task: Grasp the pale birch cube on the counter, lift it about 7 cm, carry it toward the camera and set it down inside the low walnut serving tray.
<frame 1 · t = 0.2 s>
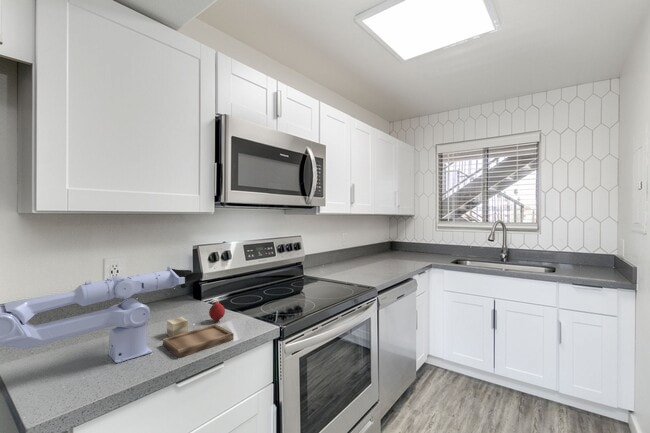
hand: (196, 274, 107), 21 cm above the countertop, tool horizontal, fingers open, 7 cm apart
cube: (177, 334, 108), on the countertop
onion: (216, 321, 121), on the countertop
tray: (199, 342, 101), on the countertop
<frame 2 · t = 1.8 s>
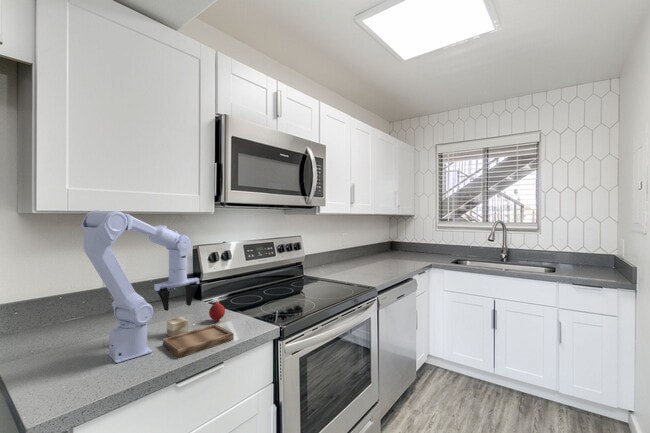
hand: (177, 307, 108), 9 cm above the countertop, tool pointing down, fingers open, 7 cm apart
nothing on the countertop moved.
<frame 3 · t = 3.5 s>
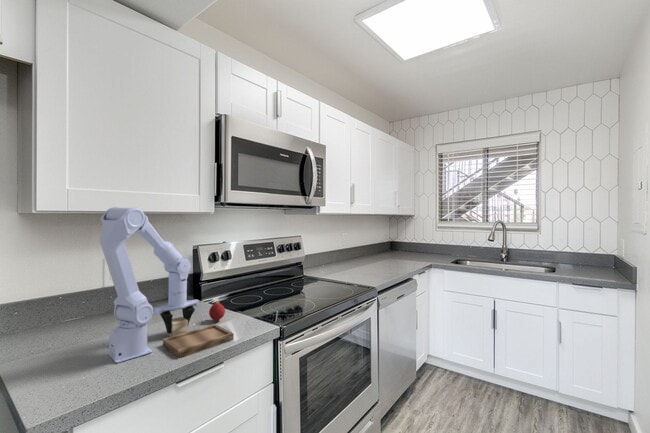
hand: (177, 330, 108), 1 cm above the countertop, tool pointing down, fingers closed on cube, 5 cm apart
cube: (177, 334, 108), on the countertop, touching gripper
everything else where it was.
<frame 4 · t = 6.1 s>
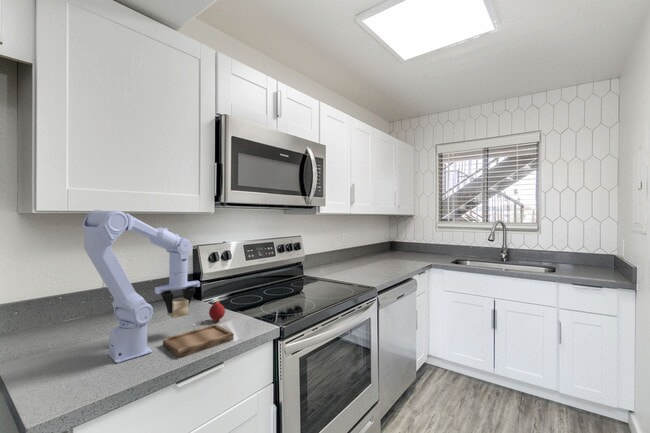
hand: (178, 310, 107), 8 cm above the countertop, tool pointing down, fingers closed on cube, 5 cm apart
cube: (178, 314, 107), point 7 cm above the countertop, touching gripper
everything else where it was.
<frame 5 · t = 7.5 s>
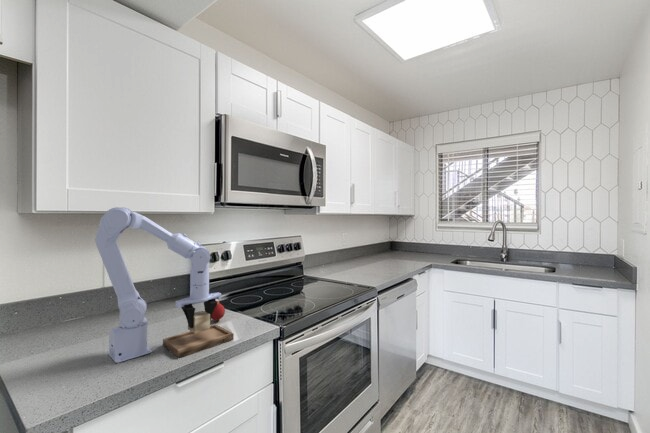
hand: (199, 324, 101), 6 cm above the countertop, tool pointing down, fingers closed on cube, 5 cm apart
cube: (198, 329, 101), point 4 cm above the countertop, touching gripper
everything else where it was.
when the fingers open (4 cm above the countertop, at t = 8.7 s): cube stays where it is, resting on tray.
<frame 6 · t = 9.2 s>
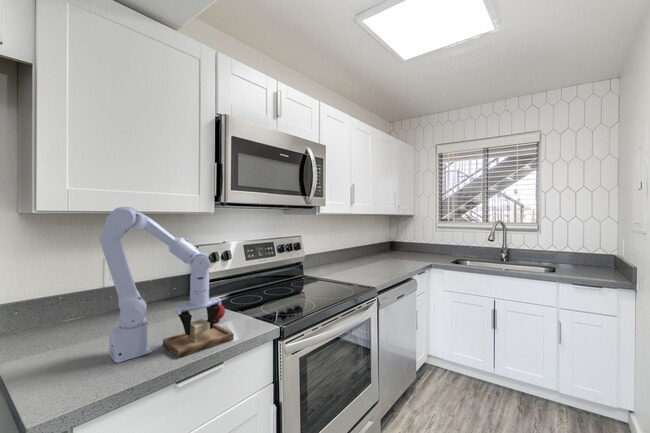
hand: (199, 330, 101), 4 cm above the countertop, tool pointing down, fingers open, 7 cm apart
cube: (198, 337, 101), point 1 cm above the countertop, touching tray
everything else where it was.
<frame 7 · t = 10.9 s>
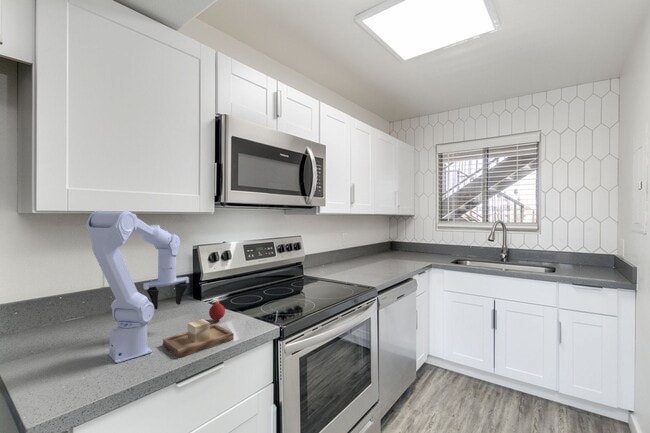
hand: (167, 306, 109), 9 cm above the countertop, tool pointing down, fingers open, 7 cm apart
nothing on the countertop moved.
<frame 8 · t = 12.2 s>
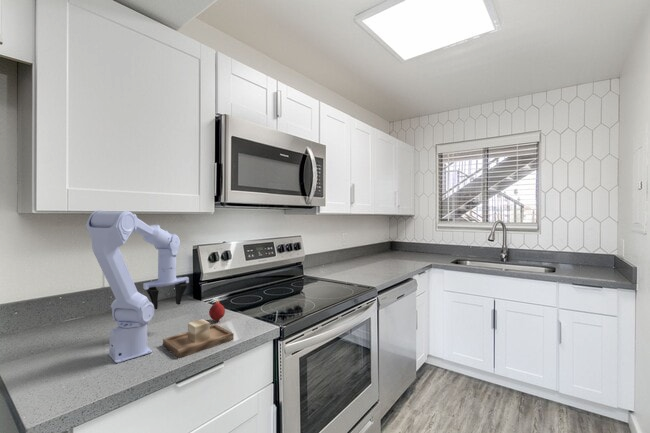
hand: (166, 306, 109), 9 cm above the countertop, tool pointing down, fingers open, 7 cm apart
nothing on the countertop moved.
at the end: cube inside the target area on the tray (0.2 cm from its centre), point 1.5 cm above the tray's base; cube tilted 0°; the gripper is holding nothing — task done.
